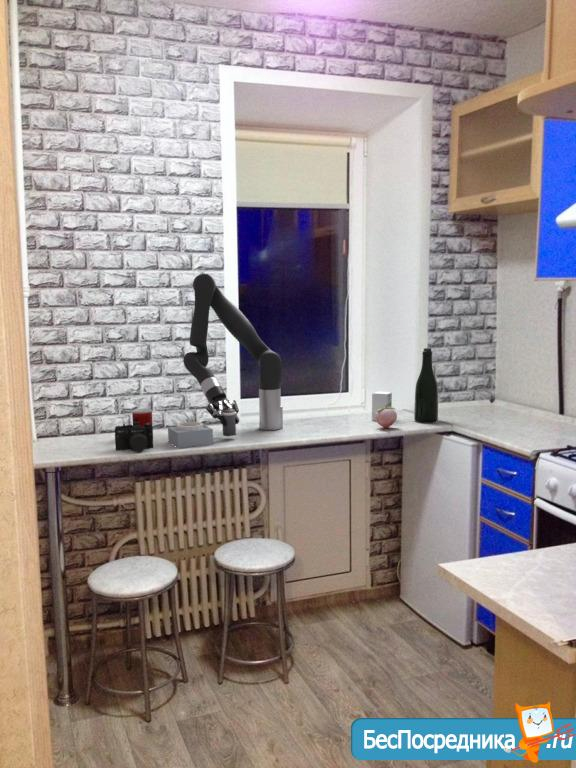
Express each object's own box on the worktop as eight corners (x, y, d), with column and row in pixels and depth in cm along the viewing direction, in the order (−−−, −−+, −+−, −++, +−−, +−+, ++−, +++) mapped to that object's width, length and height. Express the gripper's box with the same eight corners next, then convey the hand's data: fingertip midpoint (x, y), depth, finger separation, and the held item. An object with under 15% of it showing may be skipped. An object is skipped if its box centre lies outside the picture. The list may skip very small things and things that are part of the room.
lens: (233, 432, 272) (232, 408, 271) (238, 435, 267) (237, 410, 266) (220, 434, 270) (219, 409, 268) (225, 436, 265) (224, 411, 264)
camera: (116, 455, 244) (114, 427, 242) (115, 448, 254) (114, 422, 253) (155, 452, 247) (154, 425, 246) (152, 446, 258) (151, 420, 256)
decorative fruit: (386, 425, 294) (387, 402, 293) (400, 428, 288) (400, 405, 286) (370, 428, 289) (370, 405, 288) (383, 431, 282) (384, 407, 281)
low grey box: (202, 438, 270) (201, 420, 269) (213, 444, 259) (212, 425, 258) (168, 442, 264) (167, 423, 263) (177, 448, 253) (177, 428, 252)
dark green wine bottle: (413, 419, 309) (414, 347, 305) (436, 419, 308) (438, 347, 304) (415, 423, 298) (416, 349, 294) (439, 423, 297) (441, 349, 293)
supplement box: (387, 421, 303) (387, 394, 301) (371, 420, 306) (371, 393, 304) (391, 419, 310) (392, 391, 308) (376, 418, 313) (376, 391, 311)
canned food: (156, 435, 277) (155, 409, 275) (146, 439, 269) (145, 412, 268) (139, 434, 279) (138, 408, 278) (129, 438, 271) (128, 411, 270)
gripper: (201, 386, 267) (221, 420, 260) (231, 383, 276) (250, 415, 269) (194, 398, 271) (213, 432, 264) (223, 394, 281) (242, 426, 274)
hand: (231, 423), depth 267 cm, fingers closed on lens, 5 cm apart
